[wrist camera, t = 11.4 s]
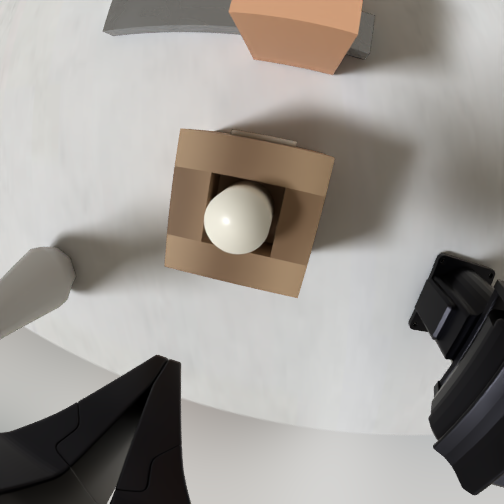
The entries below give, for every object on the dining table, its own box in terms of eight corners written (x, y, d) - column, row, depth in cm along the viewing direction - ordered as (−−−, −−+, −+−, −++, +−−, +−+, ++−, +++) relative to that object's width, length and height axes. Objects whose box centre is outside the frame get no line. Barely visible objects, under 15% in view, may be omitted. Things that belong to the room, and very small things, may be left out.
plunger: (279, 186, 15) (276, 197, 12) (268, 239, 16) (262, 260, 13) (224, 175, 15) (209, 183, 12) (216, 227, 16) (200, 246, 13)
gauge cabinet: (322, 148, 18) (336, 151, 12) (297, 254, 20) (297, 297, 15) (214, 126, 18) (181, 122, 12) (197, 231, 21) (164, 266, 15)
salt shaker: (41, 280, 25) (-45, 348, 13) (40, 230, 23) (-64, 290, 11) (82, 304, 25) (-5, 389, 13) (83, 252, 23) (-27, 332, 11)
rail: (369, 23, 14) (374, 15, 12) (364, 59, 15) (369, 53, 14) (122, 4, 15) (113, -2, 13) (113, 35, 16) (102, 31, 15)
